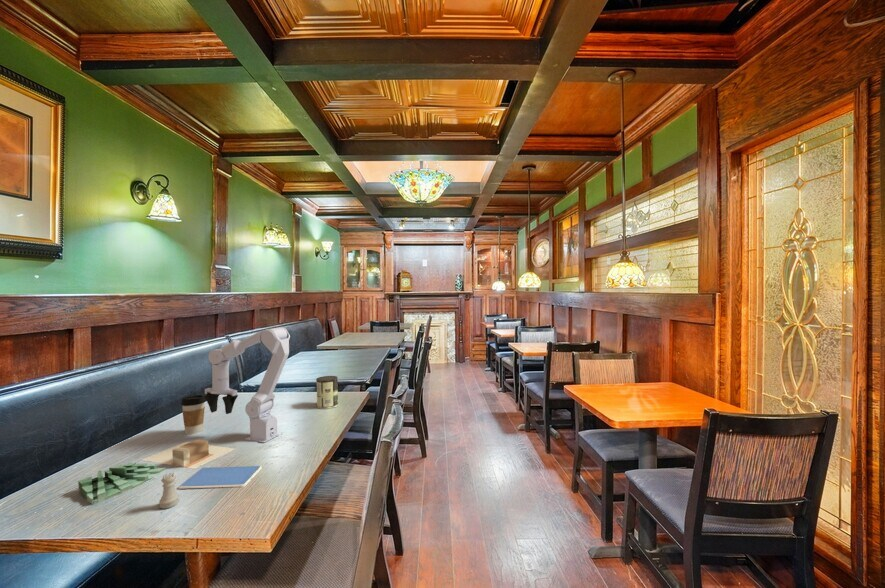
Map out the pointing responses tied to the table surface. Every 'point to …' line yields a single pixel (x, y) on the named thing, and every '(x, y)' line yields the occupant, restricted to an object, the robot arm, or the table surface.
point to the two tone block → (190, 452)
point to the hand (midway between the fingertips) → (221, 412)
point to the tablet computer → (221, 477)
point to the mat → (167, 458)
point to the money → (116, 481)
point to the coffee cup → (193, 413)
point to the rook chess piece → (168, 492)
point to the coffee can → (327, 392)
